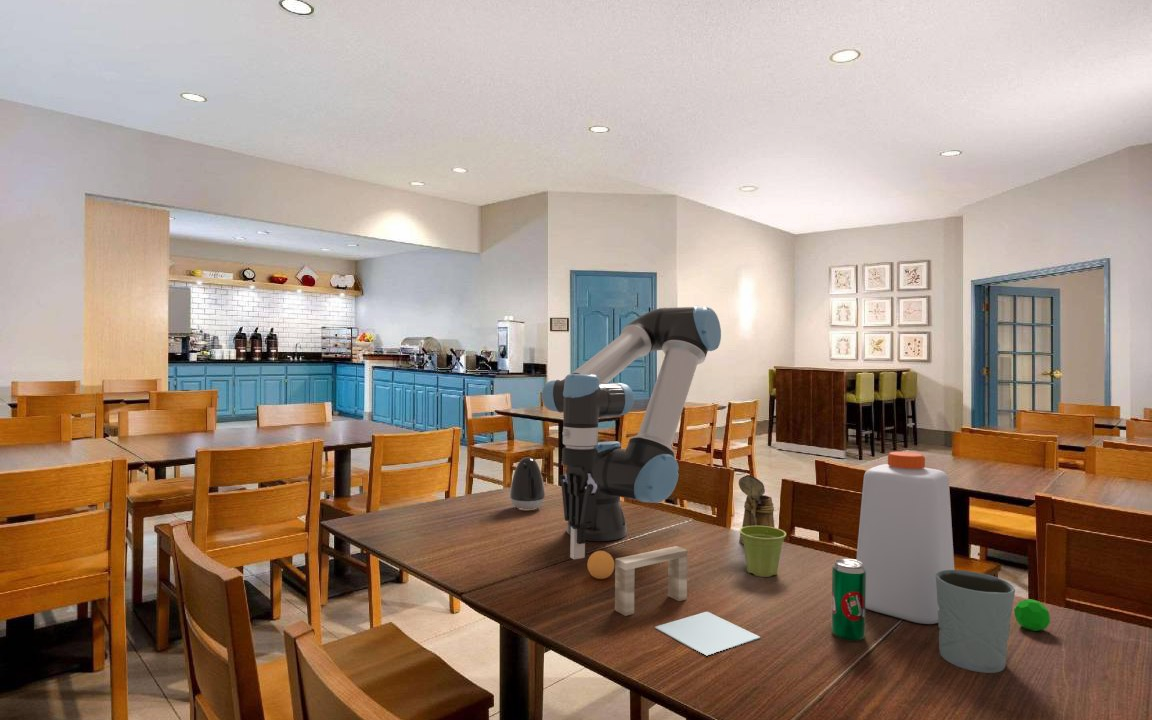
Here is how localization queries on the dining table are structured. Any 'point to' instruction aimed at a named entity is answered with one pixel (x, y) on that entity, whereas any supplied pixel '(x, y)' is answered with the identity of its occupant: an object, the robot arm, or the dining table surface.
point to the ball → (600, 564)
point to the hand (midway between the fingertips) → (577, 557)
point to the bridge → (629, 563)
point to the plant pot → (762, 549)
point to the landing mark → (707, 633)
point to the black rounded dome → (527, 485)
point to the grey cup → (974, 619)
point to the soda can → (848, 599)
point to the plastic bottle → (905, 537)
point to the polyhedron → (1032, 615)
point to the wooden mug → (756, 504)
